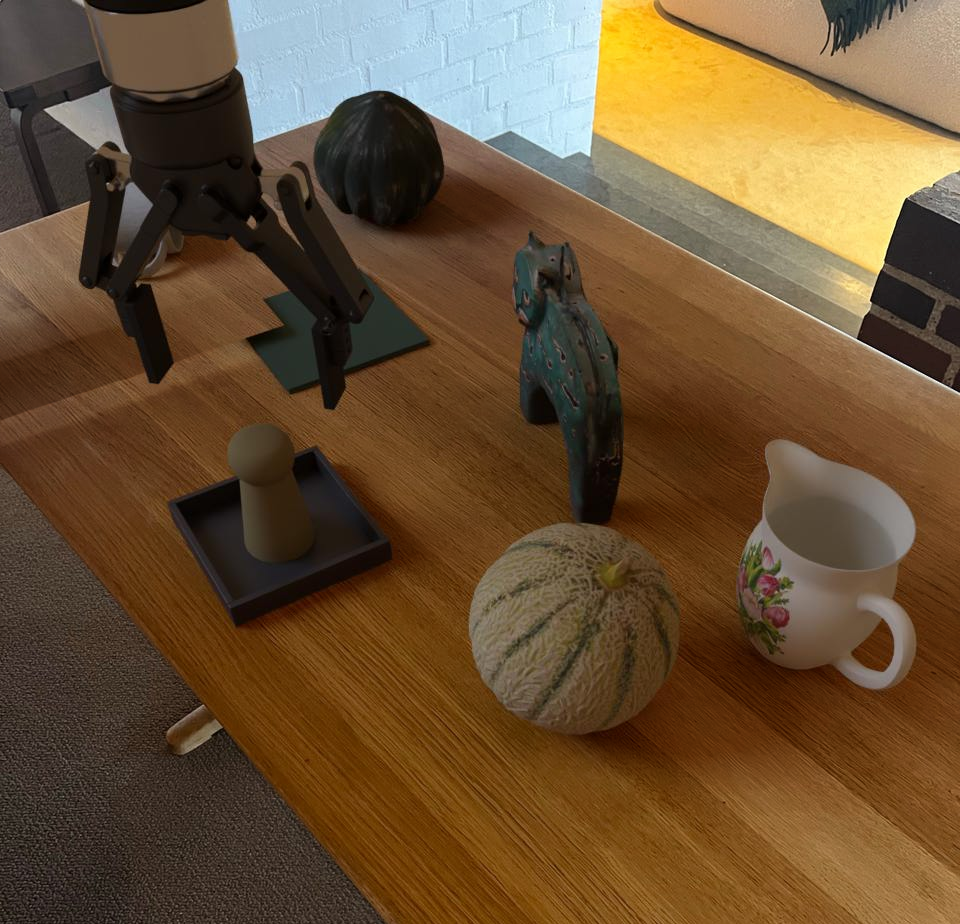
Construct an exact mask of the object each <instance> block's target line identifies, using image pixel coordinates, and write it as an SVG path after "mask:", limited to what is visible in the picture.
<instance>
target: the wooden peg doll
mask: <svg viewBox="0 0 960 924" xmlns="http://www.w3.org/2000/svg"><path fill="white" fill-rule="evenodd" d="M226 453H227V454H226V459H227V461H228V465H229V467H230V469H231V471H232V472H233V474H234V476H237V477H238V478H239V479H240V491H241V503H242V515H243V527H244V540H245V545H246V548H247V551H248V552H249V553H250V554H251V555H252V556H253V557H255V558H257V559H259V560H261V561H264V562H270V563H282V562H287V561H291V560H294V559H296V558H298V557H300V556H302V555H303V554H305V553H306V552H307V551H308V550H309V549H310V548H311V547H312V545H313V542H314V540H315V529H314V527H313V524H312V521H311V519H310V516H309V514H308V511H307V508H306V506H305V503H304V500H303V498H302V495H301V492H300V490H299V487H298V485H297V482H296V479H295V477H294V474H293V471H292V467H293V465H294V459H295V453H296V451H295V446H294V443H293V441H292V439H291V438H290V435H289V434H288V433H287V432H286V431H284V430H283V429H282V428H281V427H279V426H277V425H275V424H271V423H264V422H262V423H254V424H249V425H246V426H244V427H242V428H240V429H238V431H236V432H235V433H234V434H232V437H231V439H230V441H229V442H228V444H227V452H226Z"/></svg>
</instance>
